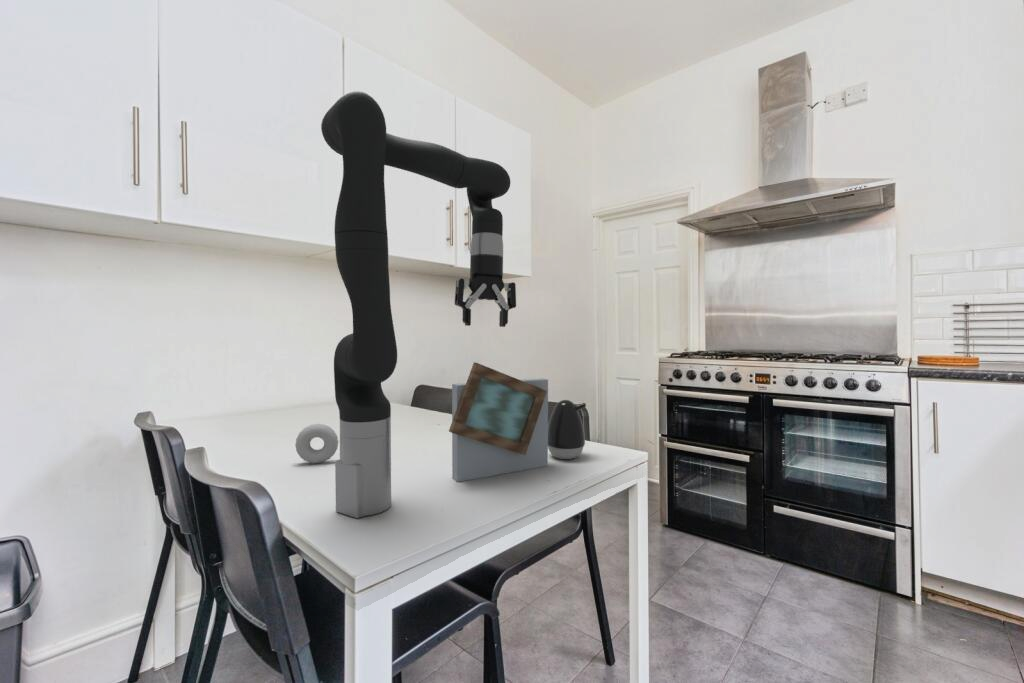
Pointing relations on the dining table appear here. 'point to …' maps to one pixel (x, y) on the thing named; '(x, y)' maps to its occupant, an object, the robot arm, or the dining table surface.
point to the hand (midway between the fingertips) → (485, 326)
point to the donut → (311, 454)
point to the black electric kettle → (566, 430)
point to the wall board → (492, 460)
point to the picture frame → (498, 409)
